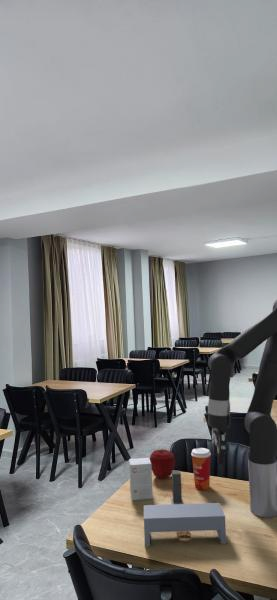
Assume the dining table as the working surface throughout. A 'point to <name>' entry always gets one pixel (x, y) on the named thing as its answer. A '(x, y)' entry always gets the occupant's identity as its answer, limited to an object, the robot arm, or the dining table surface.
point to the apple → (162, 463)
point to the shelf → (184, 519)
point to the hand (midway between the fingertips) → (218, 459)
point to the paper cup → (201, 468)
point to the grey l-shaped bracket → (176, 488)
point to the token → (184, 536)
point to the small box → (140, 479)
